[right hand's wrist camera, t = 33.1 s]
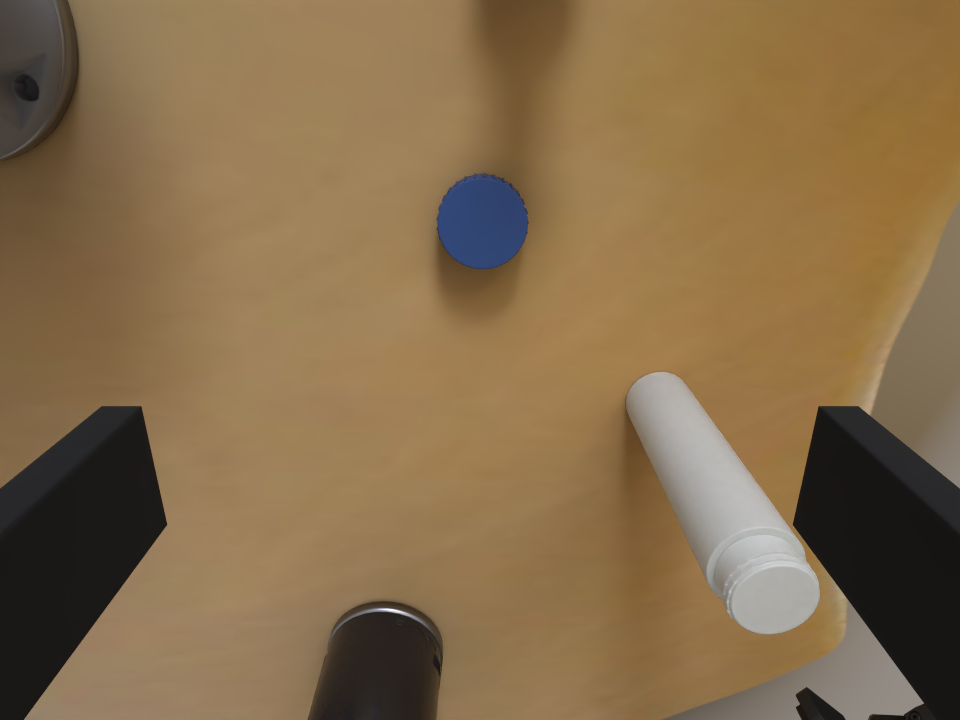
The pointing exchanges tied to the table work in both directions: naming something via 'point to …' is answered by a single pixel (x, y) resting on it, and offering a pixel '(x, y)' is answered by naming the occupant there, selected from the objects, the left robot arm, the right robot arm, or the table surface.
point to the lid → (482, 221)
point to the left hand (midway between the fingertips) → (873, 660)
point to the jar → (722, 510)
